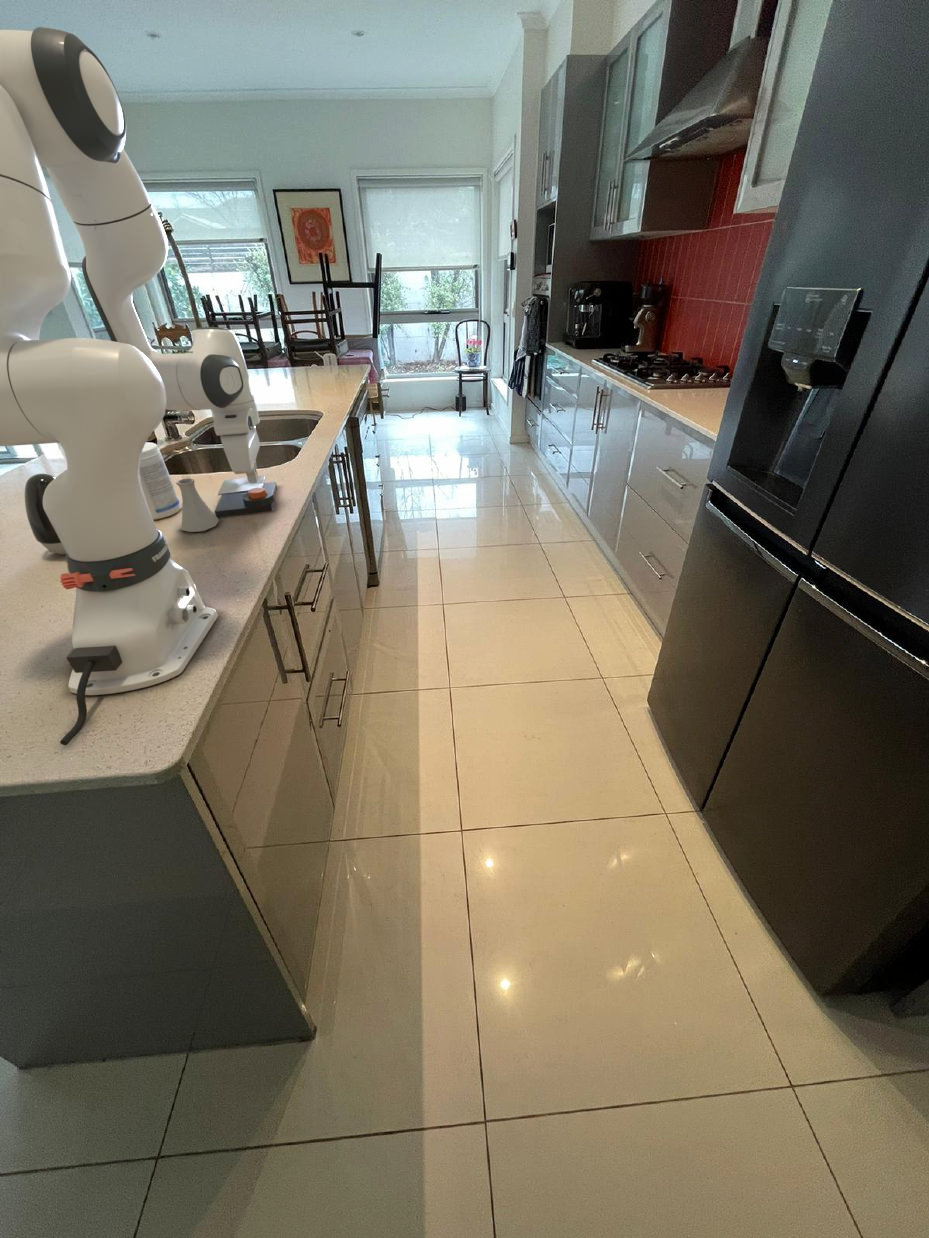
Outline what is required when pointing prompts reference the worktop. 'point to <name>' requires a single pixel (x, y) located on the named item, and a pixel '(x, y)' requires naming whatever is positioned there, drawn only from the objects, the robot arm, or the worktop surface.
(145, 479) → the supplement tub
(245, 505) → the scale
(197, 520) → the flask
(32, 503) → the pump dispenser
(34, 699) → the worktop surface
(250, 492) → the button
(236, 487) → the weighing plate
